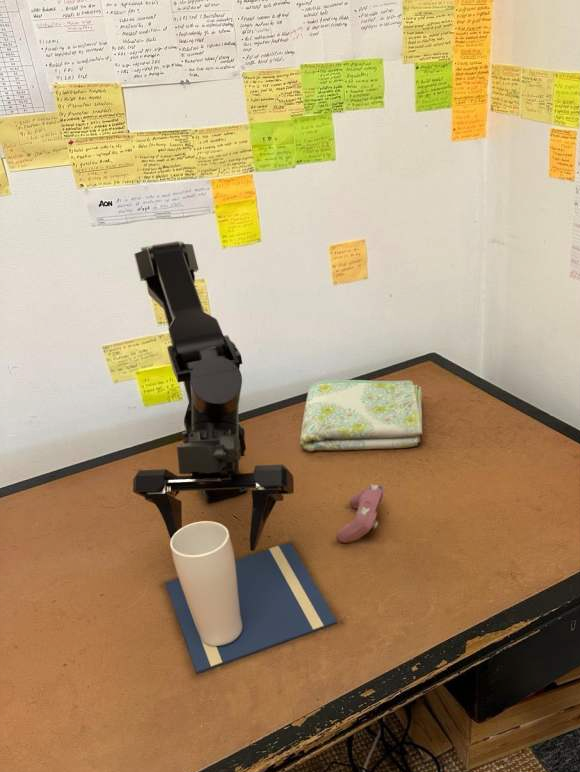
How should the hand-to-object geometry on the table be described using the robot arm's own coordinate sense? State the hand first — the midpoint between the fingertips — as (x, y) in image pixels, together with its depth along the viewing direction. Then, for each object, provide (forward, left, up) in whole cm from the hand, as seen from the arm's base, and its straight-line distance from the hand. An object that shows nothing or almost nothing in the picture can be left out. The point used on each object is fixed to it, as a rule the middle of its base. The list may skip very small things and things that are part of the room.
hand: (215, 551), depth 91 cm
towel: (-35, +35, -10) cm, 50 cm away
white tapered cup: (+4, -2, -10) cm, 11 cm away
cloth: (0, +3, -10) cm, 10 cm away
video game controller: (-8, +23, -10) cm, 26 cm away
